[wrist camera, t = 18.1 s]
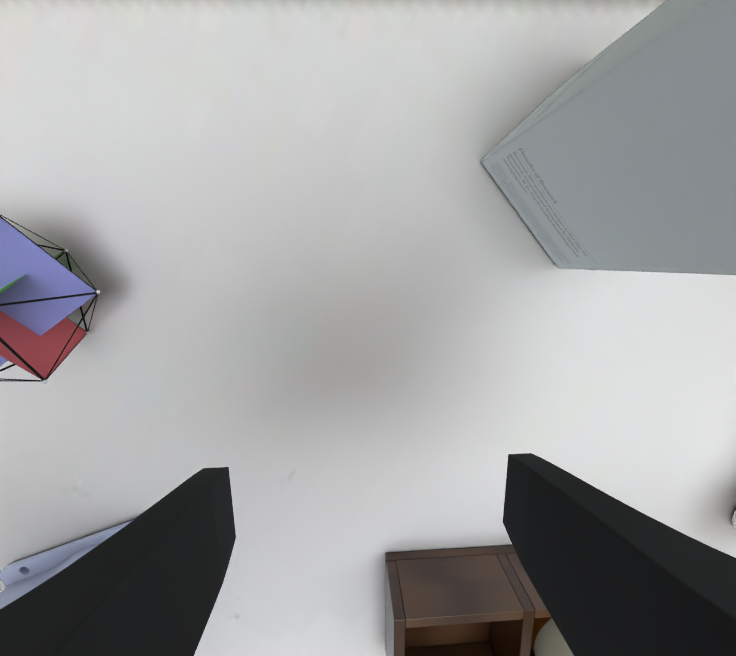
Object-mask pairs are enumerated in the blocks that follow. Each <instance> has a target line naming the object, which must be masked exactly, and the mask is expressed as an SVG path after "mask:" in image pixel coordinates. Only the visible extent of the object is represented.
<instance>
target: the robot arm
mask: <svg viewBox="0 0 736 656" xmlns="http://www.w3.org/2000/svg"><path fill="white" fill-rule="evenodd" d="M503 523H504V526H505V528H506V530H507V533H508V535H509V538H510V540H511V542H512V545H513V547H514V549H515V551H516V554H517V556H518V558H519V560H520V563H521V564H522V566H523V568H524V570H525V572H526V573H527V575H528V577H529V579H530V581H531V582H532V584H533V586H534V588H535V589H536V591H537V593H538V595H539V596H540V598H541V600H542V602H543V603H544V605H545V607H546V609H547V610H548V612H549V614H550V615H551V617H552V619H553V621H554V622H555V624H556V626H557V628H558V629H559V631H560V633H561V634H562V636H563V638H564V640H565V641H566V643H567V645H568V647H569V648H570V650H571V652H572V653H573V655H574V656H736V558H734V557H732V556H730V555H728V554H725V553H723V552H721V551H719V550H716V549H714V548H712V547H710V546H708V545H705V544H703V543H701V542H699V541H697V540H695V539H693V538H691V537H689V536H687V535H685V534H683V533H681V532H679V531H677V530H675V529H673V528H671V527H669V526H667V525H665V524H663V523H661V522H659V521H657V520H655V519H653V518H651V517H649V516H647V515H645V514H643V513H641V512H639V511H637V510H635V509H634V508H632V507H630V506H628V505H626V504H624V503H622V502H620V501H619V500H617V499H615V498H613V497H611V496H609V495H608V494H606V493H604V492H602V491H600V490H599V489H597V488H595V487H593V486H591V485H590V484H588V483H586V482H584V481H582V480H581V479H579V478H577V477H575V476H574V475H572V474H570V473H568V472H566V471H565V470H563V469H561V468H559V467H557V466H555V465H554V464H552V463H550V462H548V461H546V460H544V459H542V458H540V457H538V456H536V455H534V454H531V453H529V454H508V466H507V479H506V491H505V503H504V515H503ZM235 538H236V535H235V525H234V515H233V506H232V496H231V487H230V477H229V468H228V467H222V468H203V469H202V470H200V471H199V472H197V473H196V474H194V475H193V476H192V477H190V478H189V479H187V480H186V481H185V482H183V483H182V484H181V485H179V486H178V487H177V488H175V489H174V490H173V491H171V492H170V493H169V494H168V495H166V496H165V497H164V498H162V499H161V500H160V501H158V502H157V503H156V504H154V505H153V506H152V507H150V508H149V509H148V510H146V511H145V512H144V513H142V514H141V515H140V516H138V517H137V518H136V519H134V520H132V521H129V522H126V523H124V524H121V525H118V526H115V527H112V528H110V529H107V530H104V531H101V532H98V533H96V534H93V535H90V536H87V537H84V538H82V539H79V540H76V541H73V542H70V543H68V544H65V545H62V546H59V547H57V548H54V549H51V550H48V551H45V552H43V553H40V554H37V555H34V556H31V557H29V558H26V559H23V560H20V561H17V562H15V563H12V564H9V565H7V566H6V567H5V568H4V569H3V570H2V571H1V572H0V579H1V580H2V582H3V583H4V584H5V586H6V588H5V589H4V590H3V591H2V592H1V593H0V656H194V654H195V651H196V649H197V646H198V644H199V641H200V639H201V636H202V634H203V631H204V629H205V627H206V624H207V622H208V619H209V617H210V614H211V612H212V609H213V607H214V604H215V602H216V599H217V597H218V594H219V591H220V589H221V586H222V584H223V581H224V577H225V574H226V571H227V567H228V564H229V560H230V557H231V553H232V549H233V546H234V542H235Z"/></svg>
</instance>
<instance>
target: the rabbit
mask: <svg viewBox="0 0 736 656" xmlns="http://www.w3.org/2000/svg"><path fill="white" fill-rule="evenodd" d="M732 523H733V525H734V527H735V528H736V510H735V511H734V514H733V517H732Z"/></svg>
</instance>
